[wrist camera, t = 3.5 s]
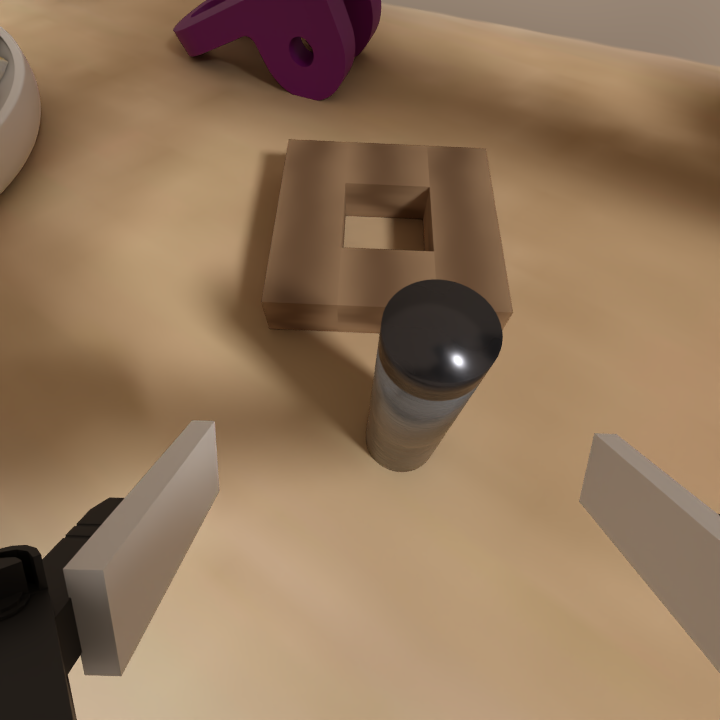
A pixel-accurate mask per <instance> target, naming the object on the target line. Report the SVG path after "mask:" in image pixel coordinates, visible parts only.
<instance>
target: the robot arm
mask: <svg viewBox="0 0 720 720" xmlns="http://www.w3.org/2000/svg"><path fill="white" fill-rule="evenodd" d="M218 493H219V476H218V461H217V447H216V432H215V421H200V420H192V421H191V422H190V423H189V425H188V426H187V427H186V428H185V429H184V430H183V431H182V433H181V434H180V435H179V436H178V437H177V438H176V440H175V441H174V442H173V443H172V444H171V445H170V446H169V448H168V449H167V450H166V451H165V452H164V453H163V454H162V456H161V457H160V458H159V459H158V460H157V461H156V463H155V464H154V465H153V466H152V467H151V468H150V469H149V471H148V472H147V473H146V474H145V475H144V476H143V478H142V479H141V480H140V481H139V482H138V483H137V484H136V486H135V487H134V488H133V489H132V490H131V491H130V492H129V494H128V495H127V496H126V497H125V498H108V499H106V500H105V501H103V502H102V503H100V504H98V505H97V506H95V507H93V508H92V509H90V510H89V511H88V512H87V513H86V515H85V516H84V517H83V518H82V519H81V520H80V521H79V522H78V523H77V526H74V527H73V528H72V529H71V530H70V531H69V532H68V533H67V534H66V537H65V538H63V539H62V540H61V541H60V542H59V543H58V544H57V545H56V546H55V547H54V548H53V549H52V550H51V551H50V552H49V553H48V554H47V555H46V556H45V557H44V558H43V559H42V557H41V554H40V552H39V551H38V550H37V548H35V547H31V546H28V545H18V546H9V547H5V548H2V549H0V720H77V719H76V714H75V708H74V703H73V698H72V693H71V688H70V683H69V679H68V673H69V672H70V670H71V669H72V667H73V665H74V664H75V662H76V661H77V659H78V658H79V656H80V655H81V659H82V664H83V669H84V674H85V675H101V676H122V674H123V672H124V670H125V668H126V666H127V664H128V663H129V661H130V659H131V657H132V655H133V653H134V651H135V649H136V647H137V646H138V644H139V642H140V640H141V638H142V636H143V634H144V632H145V630H146V629H147V627H148V625H149V623H150V621H151V619H152V617H153V615H154V613H155V612H156V610H157V608H158V606H159V604H160V602H161V600H162V598H163V596H164V595H165V593H166V591H167V589H168V587H169V585H170V583H171V581H172V579H173V578H174V576H175V574H176V572H177V570H178V568H179V566H180V564H181V562H182V561H183V559H184V557H185V555H186V553H187V551H188V549H189V547H190V545H191V544H192V542H193V540H194V538H195V536H196V534H197V532H198V530H199V528H200V527H201V525H202V523H203V521H204V519H205V517H206V515H207V513H208V511H209V510H210V508H211V506H212V504H213V502H214V500H215V498H216V496H217V494H218ZM579 502H580V503H581V504H582V505H583V507H584V508H585V509H586V510H587V512H588V513H589V514H590V515H591V516H592V518H593V519H594V520H595V521H596V523H597V524H598V525H599V526H600V527H601V529H602V530H603V531H604V532H605V534H606V535H607V536H608V537H609V538H610V540H611V541H612V542H613V543H614V545H615V546H616V547H617V548H618V549H619V551H620V552H621V553H622V554H623V556H624V557H625V558H626V559H627V560H628V562H629V563H630V564H631V565H632V567H633V568H634V569H635V570H636V571H637V573H638V574H639V575H640V576H641V578H642V579H643V580H644V581H645V582H646V584H647V585H648V586H649V587H650V589H651V590H652V591H653V592H654V593H655V595H656V596H657V597H658V598H659V600H660V601H661V602H662V603H663V604H664V606H665V607H666V608H667V609H668V610H669V612H670V613H671V614H672V615H673V617H674V618H675V619H676V620H677V621H678V623H679V624H680V625H681V626H682V628H683V629H684V630H685V631H686V632H687V634H688V635H689V636H690V637H691V639H692V640H693V641H694V642H695V643H696V645H697V646H698V647H699V648H700V650H701V651H702V652H703V653H704V654H705V656H706V657H707V658H708V659H709V661H710V662H711V663H712V664H713V665H714V667H715V668H716V669H717V670H718V672H719V673H720V514H717V513H716V512H714V511H713V510H712V509H711V508H709V507H708V506H707V505H706V504H704V503H703V502H702V501H700V500H699V499H698V498H697V497H695V496H694V495H693V494H692V493H690V492H689V491H688V490H686V489H685V488H684V487H683V486H681V485H680V484H679V483H678V482H676V481H675V480H674V479H673V478H671V477H670V476H669V475H667V474H666V473H665V472H664V471H662V470H661V469H660V468H659V467H657V466H656V465H655V464H653V463H652V462H651V461H650V460H648V459H647V458H646V457H645V456H643V455H642V454H641V453H639V452H638V451H637V450H636V449H634V448H633V447H632V446H631V445H629V444H628V443H627V442H626V441H624V440H623V439H622V438H620V437H619V436H618V435H617V434H598V433H594V437H593V442H592V446H591V451H590V455H589V460H588V464H587V469H586V473H585V478H584V482H583V487H582V491H581V495H580V500H579Z"/></svg>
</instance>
